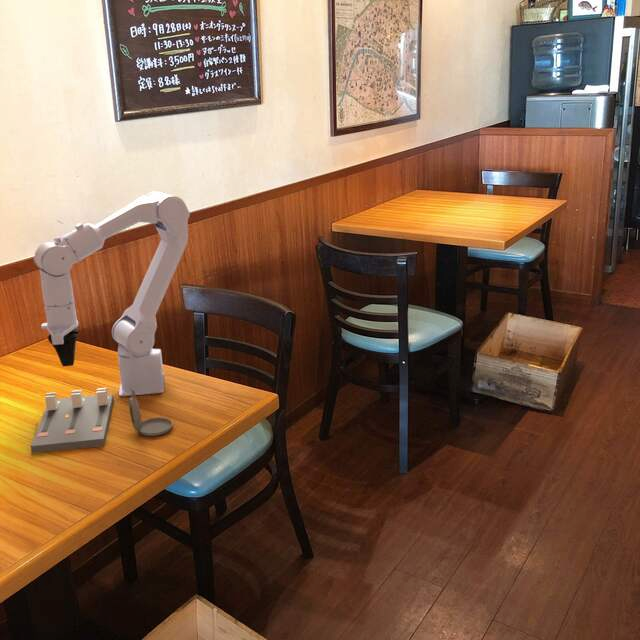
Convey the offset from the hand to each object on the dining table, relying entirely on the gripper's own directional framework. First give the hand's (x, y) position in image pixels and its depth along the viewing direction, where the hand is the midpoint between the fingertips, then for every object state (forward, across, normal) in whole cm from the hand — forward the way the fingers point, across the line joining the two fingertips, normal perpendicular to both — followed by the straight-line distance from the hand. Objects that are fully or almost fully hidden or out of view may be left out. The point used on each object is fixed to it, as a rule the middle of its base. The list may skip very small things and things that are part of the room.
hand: (68, 364), depth 143 cm
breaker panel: (+9, +9, +2) cm, 13 cm away
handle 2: (+8, +4, +6) cm, 11 cm away
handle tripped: (+8, +4, +2) cm, 9 cm away
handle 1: (+8, +4, -4) cm, 9 cm away
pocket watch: (+10, +15, +16) cm, 24 cm away
